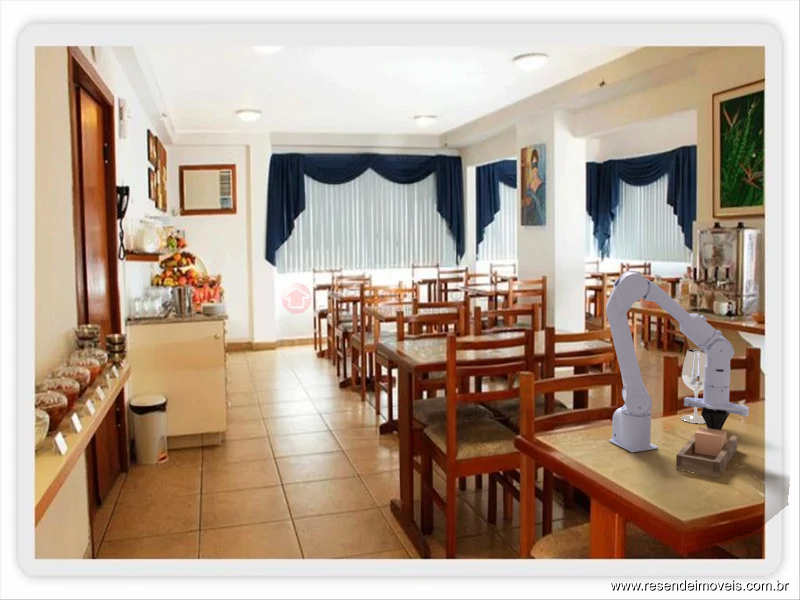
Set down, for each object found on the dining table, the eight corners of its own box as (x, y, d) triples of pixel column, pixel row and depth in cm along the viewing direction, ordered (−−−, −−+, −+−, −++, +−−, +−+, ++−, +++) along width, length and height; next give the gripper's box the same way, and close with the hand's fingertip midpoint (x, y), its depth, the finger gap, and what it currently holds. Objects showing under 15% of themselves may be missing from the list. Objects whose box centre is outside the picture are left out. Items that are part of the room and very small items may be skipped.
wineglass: (703, 415, 195) (705, 347, 193) (715, 424, 187) (718, 353, 185) (676, 416, 195) (678, 348, 193) (686, 424, 188) (689, 353, 185)
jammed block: (699, 446, 166) (699, 426, 166) (725, 451, 163) (726, 431, 162) (694, 452, 162) (695, 432, 161) (721, 457, 159) (722, 436, 158)
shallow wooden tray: (698, 443, 172) (698, 429, 171) (736, 449, 167) (737, 436, 166) (675, 469, 154) (676, 455, 154) (718, 478, 149) (719, 462, 149)
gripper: (680, 383, 166) (678, 436, 168) (743, 393, 156) (740, 449, 158) (690, 378, 171) (689, 430, 173) (752, 387, 161) (750, 442, 163)
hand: (714, 439), depth 166 cm, fingers closed
